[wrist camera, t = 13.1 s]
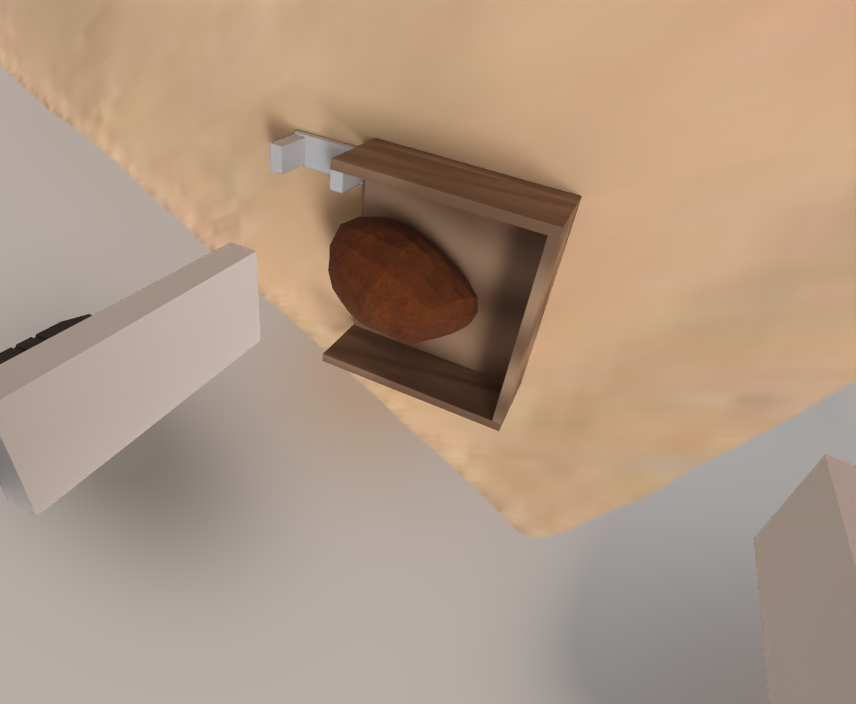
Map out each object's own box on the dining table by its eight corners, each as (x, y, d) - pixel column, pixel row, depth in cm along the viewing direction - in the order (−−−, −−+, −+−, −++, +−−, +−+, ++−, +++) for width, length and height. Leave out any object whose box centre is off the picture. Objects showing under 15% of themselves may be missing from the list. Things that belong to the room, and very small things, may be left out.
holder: (375, 138, 39) (330, 158, 35) (581, 196, 36) (563, 227, 31) (359, 324, 49) (322, 360, 44) (520, 385, 46) (498, 431, 41)
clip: (298, 130, 41) (269, 140, 39) (368, 150, 40) (343, 162, 37) (298, 161, 43) (270, 173, 40) (366, 182, 41) (341, 196, 39)
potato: (457, 341, 44) (418, 397, 38) (342, 260, 45) (285, 303, 38) (506, 272, 39) (470, 323, 33) (376, 182, 40) (317, 217, 34)
